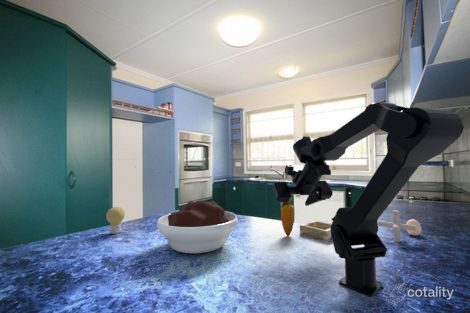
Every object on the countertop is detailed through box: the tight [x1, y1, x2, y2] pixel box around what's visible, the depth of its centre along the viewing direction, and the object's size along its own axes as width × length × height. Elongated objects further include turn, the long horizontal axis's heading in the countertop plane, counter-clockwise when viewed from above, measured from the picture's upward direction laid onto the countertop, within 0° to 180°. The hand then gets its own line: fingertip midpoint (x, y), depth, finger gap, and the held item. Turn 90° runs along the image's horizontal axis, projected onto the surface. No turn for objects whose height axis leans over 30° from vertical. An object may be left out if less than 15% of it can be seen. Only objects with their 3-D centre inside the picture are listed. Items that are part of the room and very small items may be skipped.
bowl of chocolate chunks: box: [156, 199, 239, 254], centre depth 70 cm, size 25×25×15 cm
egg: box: [405, 218, 422, 236], centre depth 79 cm, size 4×4×6 cm
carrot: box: [280, 196, 295, 237], centre depth 79 cm, size 5×5×15 cm
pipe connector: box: [377, 209, 416, 243], centre depth 73 cm, size 10×10×10 cm
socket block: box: [299, 220, 333, 243], centre depth 80 cm, size 10×10×4 cm
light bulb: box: [105, 206, 126, 235], centre depth 86 cm, size 6×6×10 cm
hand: (293, 205), depth 75 cm, fingers open, 9 cm apart
